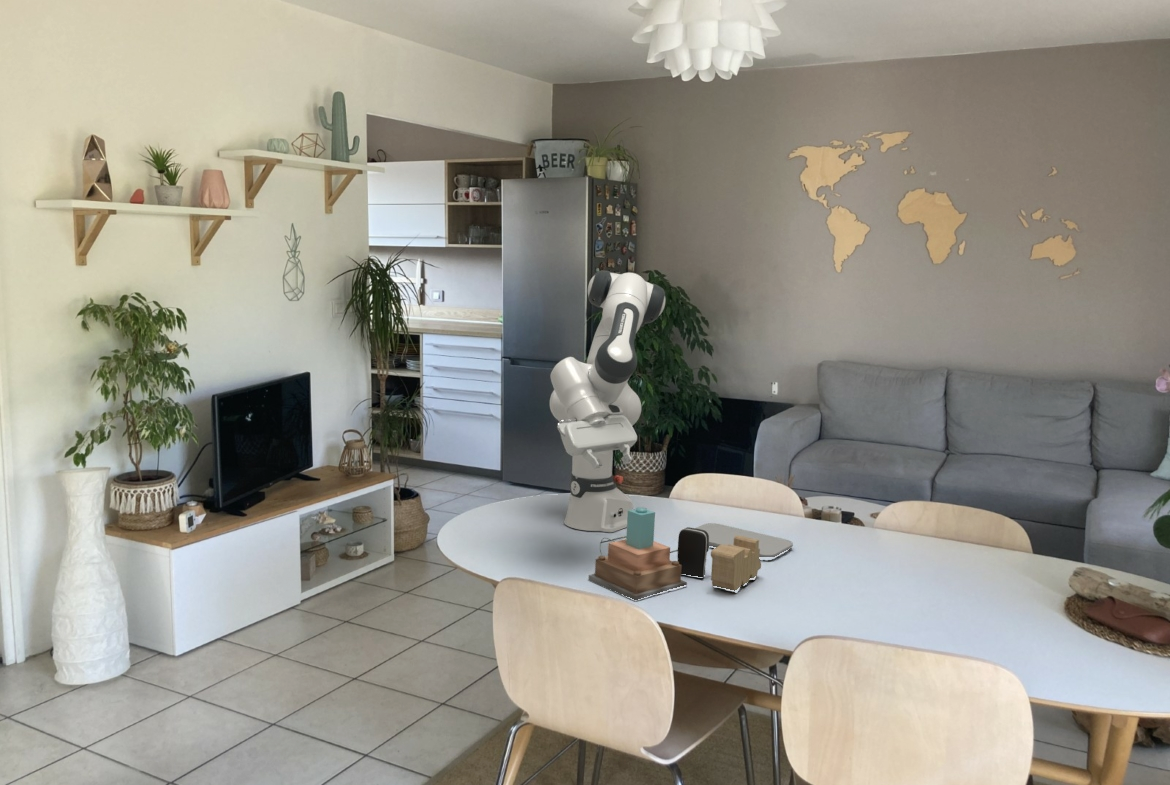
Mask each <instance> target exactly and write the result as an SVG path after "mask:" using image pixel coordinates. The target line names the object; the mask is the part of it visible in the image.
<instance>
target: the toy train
mask: <svg viewBox="0 0 1170 785" xmlns="http://www.w3.org/2000/svg"><path fill="white" fill-rule="evenodd" d="M759 555H760V549H759V540H757V539H752V538H747V537H743V536H738V535H737V536H735V537H734V544H733V545H730V544H728V545H723V544H721V545H720V546H718V547H716V548H715V549H712V550H711V552H710V556H711V573H710V574H711V576H710V577H711V578H710V580H711V585H712V587H713V586H717V587H721V588H726V589H730V590H734V591H735V590H737V589H738V588H739V587H741V588H742V586H741V585H744V584H745V583H747V582H748V581H749V582H750V580H749V579H750V578H754V577H755V576H757V577H758V572H759V570H761V569H762V568H761V567H762V561H760V559H759Z"/></svg>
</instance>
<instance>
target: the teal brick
mask: <svg viewBox="0 0 1170 785" xmlns="http://www.w3.org/2000/svg"><path fill="white" fill-rule="evenodd" d="M655 521H656V512H655V511H652V510H650V509H648V508H647V507H643V506H642V507H641V506H638V507H636V508H635V509H634V508H633V510H628V517H627V527H626V536H627V537H626V538H625V539H626V544H627V545H629V546H632V547H634V548H637V549H643V548H647V547H652V546H653V541H655V540H654V537H655Z"/></svg>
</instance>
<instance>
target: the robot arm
mask: <svg viewBox="0 0 1170 785" xmlns="http://www.w3.org/2000/svg"><path fill="white" fill-rule="evenodd" d="M587 295H588V296H587V298H588V301H589V302H590V304H591V305H593V306H595V307H597V308H602V312H601V313H602V314H601V315H602V316H601V320H600V322H599V324H598V326H597V328H596V331H595V332H594V336H593V339H592V343H591V345H590V349H589V351H588V352H589V353H588V356H587V360H586V363H585V362H582V361H579V360H578V359H576V358H575V357H573V356H567V357H564V358H562V359H561V360H560V361H558V362H557V363H556V364H555V365H554V367H553V368H552V370H551V372H550V375H549V377H550V382H551V384H552V387H553V390H552V392H551V394H550V398H549V409H550V412H551V414H552V416H553V417H554V418H555V420H556V421H558V422H557V426H556V428H557V430H558V432H559V434H560V439H561V441H562V444H563V446H564V449H565V452H566V453H567V454H568V455H569V456H571V457H572V459H571V460H572V464H571V467H572V468H571V469H572V470H571V472H570V478H569V490H570V494H569V499H568V500H569V501H568V506H567V511H566V514H565V517H564V521H563V523H564V525H565V526H566V527H568V528H572V529H576V530H580V531H587V532H588V531H589V532H591V531H592V532H604V533H605V532H606V533H614V532H616V531H619V530H622V529H625V528H626V529H627V517H628V510H633V509H634V503H633V501H632V499H631V498H630V497H628V496H627V495H626V494H625V493H624V492H623V491H621V489H619V488H618V487H617V483H618V484H622V483H623V482H624V477H623V476H622V475H618V474H617V475H614V474H613V460H614V458H613V457H614V451H617V450H619V451H620V453H622V455H623V456H622V457H621V458H620V460H621V462H622V463H623V464H624V465H627V464H630V463H631V462H633V459H632V457H631V455H630V452H631V451H630V450H631V448H632V447H633V446H634V445H635V444H636V442H637V441H638V435H637V433H636V431H635V428H634V427H633V426H634V425H635V424H636V423H637V421H638V420H639V419H640V416H641V413H642V403H641V399H640V397H639V396H638V394H637V392H635V391H634V390H633V388H631V386H630V385H629V383H628V381H629V379H630V378H631V376H632V375H633V374H634V372H635V370H636V369H637V366H638V356H637V353H636V349H635V339H636V334H637V333H638V331H639V330H640V328H641V327H643V328H644V326H645V325H647V324H650V323H653V322H655V320H657V319H658V318H659V316H661V314H662V313H663V311H664V309H665V308H666V307H665V306H666V292H665V289H664V288H662V287H661V286H659V285H658V284H655V283H650V282H648V281H646V280H645V279H644V278H643V277H642V276H640V274H638V273H635V272H624V273H616V272H611V271H609V270H599V271H597V272H595V273H594V275H593V276H592V277H591V279H590V280H589V283H588V287H587Z"/></svg>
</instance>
